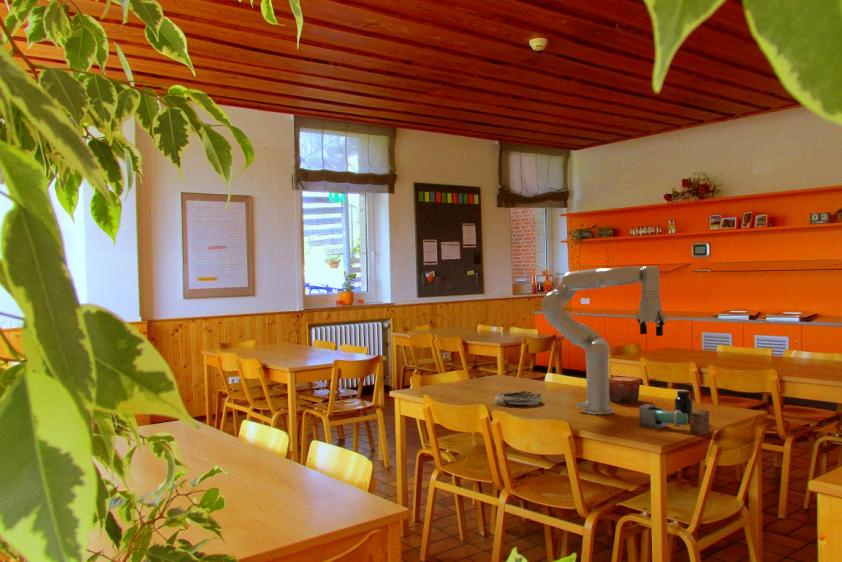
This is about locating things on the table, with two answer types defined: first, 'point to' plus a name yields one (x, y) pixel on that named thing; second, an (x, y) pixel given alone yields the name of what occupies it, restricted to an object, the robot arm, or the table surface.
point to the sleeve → (650, 417)
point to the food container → (624, 389)
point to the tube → (672, 417)
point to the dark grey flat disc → (518, 399)
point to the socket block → (699, 422)
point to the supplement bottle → (684, 402)
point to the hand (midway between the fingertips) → (651, 334)
